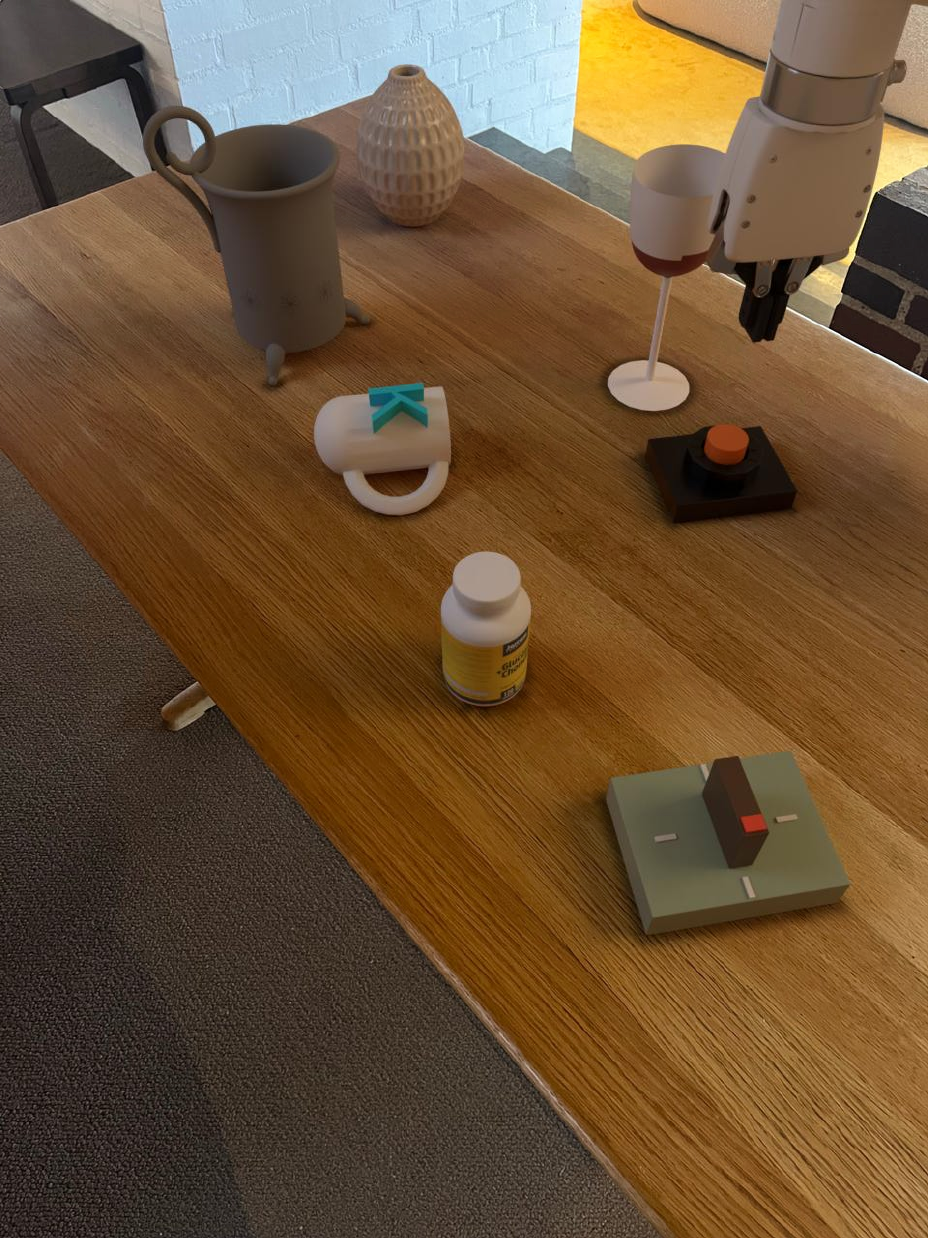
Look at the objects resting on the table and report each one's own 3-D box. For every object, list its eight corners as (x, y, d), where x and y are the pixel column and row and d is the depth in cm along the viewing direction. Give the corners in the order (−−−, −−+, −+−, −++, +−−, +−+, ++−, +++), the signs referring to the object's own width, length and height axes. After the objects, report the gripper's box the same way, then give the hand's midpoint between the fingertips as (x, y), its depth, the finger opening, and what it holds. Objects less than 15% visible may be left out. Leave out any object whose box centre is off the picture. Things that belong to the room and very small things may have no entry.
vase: (341, 213, 119) (325, 69, 107) (418, 179, 125) (412, 38, 112) (408, 253, 113) (400, 105, 101) (486, 215, 119) (488, 71, 106)
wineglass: (587, 393, 97) (613, 178, 80) (632, 347, 102) (666, 134, 84) (665, 425, 93) (709, 208, 76) (708, 376, 98) (758, 161, 81)
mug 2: (304, 372, 82) (442, 359, 84) (313, 422, 91) (438, 409, 92) (318, 498, 79) (461, 482, 81) (326, 537, 88) (455, 522, 89)
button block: (755, 443, 92) (765, 410, 89) (791, 508, 86) (803, 475, 83) (644, 456, 91) (650, 423, 87) (673, 523, 85) (681, 490, 82)
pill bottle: (487, 725, 72) (490, 628, 63) (425, 678, 74) (419, 578, 65) (543, 673, 75) (553, 573, 66) (481, 629, 77) (483, 528, 68)
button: (736, 437, 87) (740, 421, 85) (750, 463, 85) (755, 448, 83) (698, 441, 86) (701, 426, 85) (711, 468, 84) (715, 452, 83)
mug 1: (350, 287, 109) (324, 46, 90) (391, 360, 100) (371, 111, 81) (185, 322, 105) (121, 77, 85) (213, 401, 96) (147, 149, 77)
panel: (780, 771, 69) (791, 748, 67) (837, 903, 63) (852, 883, 60) (605, 799, 68) (610, 776, 65) (645, 936, 61) (653, 917, 59)
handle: (701, 793, 65) (715, 757, 61) (723, 790, 65) (739, 753, 61) (728, 869, 61) (745, 835, 57) (752, 865, 61) (770, 831, 58)
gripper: (905, 53, 65) (826, 296, 79) (692, 70, 63) (651, 314, 77) (959, 101, 60) (865, 349, 74) (731, 119, 59) (680, 370, 73)
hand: (756, 331), depth 76 cm, fingers closed
